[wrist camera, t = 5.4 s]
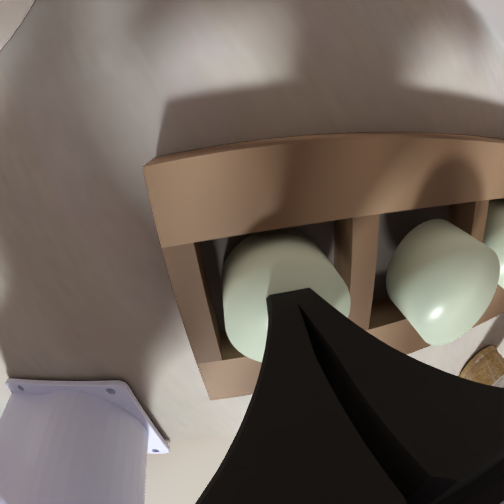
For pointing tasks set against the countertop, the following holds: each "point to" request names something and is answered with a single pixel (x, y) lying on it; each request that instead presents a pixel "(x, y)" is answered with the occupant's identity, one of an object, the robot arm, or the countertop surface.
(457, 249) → the button mid
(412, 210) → the wooden compartment tray
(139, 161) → the countertop surface
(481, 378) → the sprinkles bottle
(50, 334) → the countertop surface
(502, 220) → the button
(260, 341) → the button
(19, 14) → the pill bottle
